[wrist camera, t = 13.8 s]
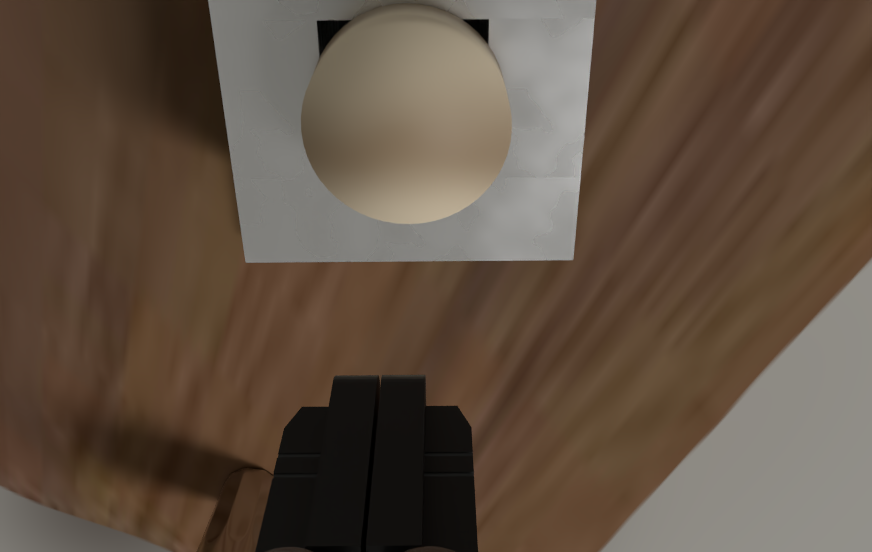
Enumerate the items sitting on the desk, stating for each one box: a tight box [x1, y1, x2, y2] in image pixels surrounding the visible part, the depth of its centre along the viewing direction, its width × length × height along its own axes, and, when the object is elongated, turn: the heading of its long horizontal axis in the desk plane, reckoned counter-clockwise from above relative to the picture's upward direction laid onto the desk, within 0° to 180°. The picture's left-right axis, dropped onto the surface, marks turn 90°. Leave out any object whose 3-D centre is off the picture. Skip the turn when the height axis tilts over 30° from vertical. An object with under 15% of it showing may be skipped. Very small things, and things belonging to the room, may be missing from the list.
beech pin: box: [301, 3, 512, 224], centre depth 29 cm, size 6×6×8 cm
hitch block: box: [208, 0, 596, 263], centre depth 30 cm, size 18×14×7 cm
